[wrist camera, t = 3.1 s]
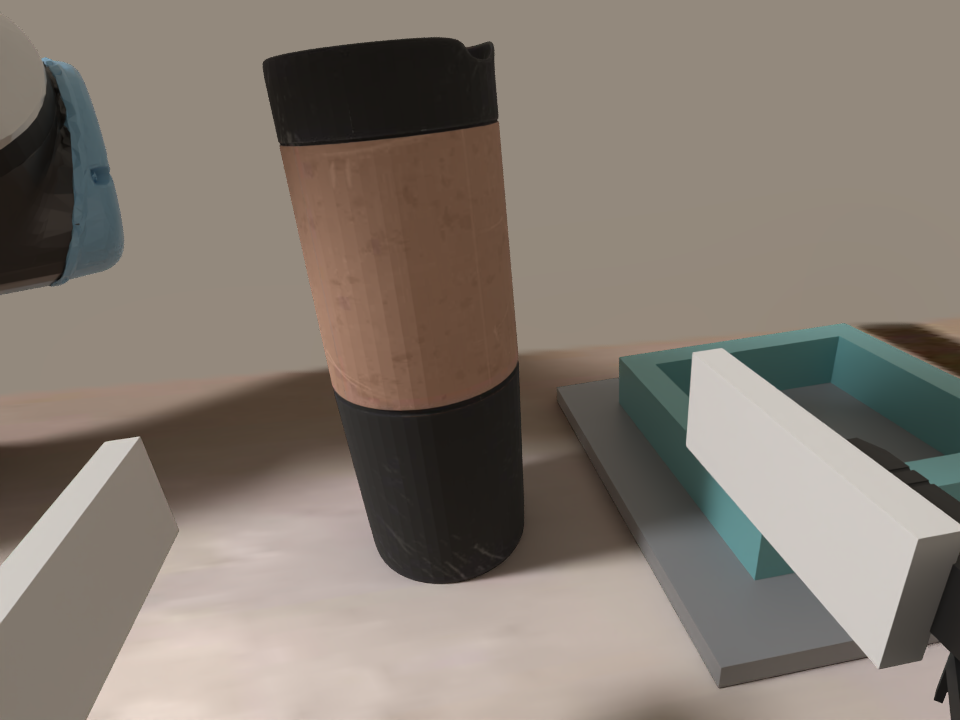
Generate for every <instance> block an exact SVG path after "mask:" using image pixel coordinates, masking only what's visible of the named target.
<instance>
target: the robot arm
mask: <svg viewBox="0 0 960 720" xmlns="http://www.w3.org/2000/svg"><path fill="white" fill-rule="evenodd" d="M109 172H110V167H109V164H108V160H107V153H106V149H105V145H104V141H103V137H102V134H101V130H100V127H99V124H98V120H97V117H96V114H95V111H94V107H93V104H92V102H91V99H90V96H89V93H88V91H87V88H86V86H85V83H84V81H83V79H82V77H81V75H80V73H79V72H78V70H76V69H75V68H74V67H73V66H72V65H70V64H68V63H65V62H58V61H53V60H51V59H49V58H41V57H40V55H39V53H38V51H37V49H36V48H35V47H34V45H33V44H32V42H31V41H30V39H29V38H28V37H27V35H26V34H25V33H24V32H23V31H22V29H21V28H19V27H18V26H17V25H16V24H15V23H14V22H12V21H11V20H10V19H9V18H8V17H6V16H4V15H3V14H2V13H0V295H2V294H8V293H13V292H18V291H24V290H28V289H34V288H40V287H45V286H59V285H62V284H64V283H65V282H67V281H68V280H69V279H74V278H78V277H81V276H85V275H90V274H93V273H97V272H102V271H105V270H107V269H109V268H111V267H112V266H114V265H115V264H116V263H117V262H118V261H119V259H120V257H121V256H122V253H123V249H124V234H123V226H122V220H121V214H120V208H119V204H118V199H117V195H116V190H115V186H114V183H113V180H112V177H111V176H110V174H109ZM686 446H687V448H688V449H689V450H690V451H691V452H692V453H693V455H694V456H695V457H696V458H697V459H698V460H699V462H700V463H701V464H702V465H703V466H704V467H705V469H706V470H707V471H708V472H709V473H710V474H711V475H712V477H713V478H714V479H715V480H716V481H717V482H718V484H719V485H720V486H721V487H722V488H723V489H724V491H725V492H726V493H727V494H728V495H729V496H730V498H731V499H732V500H733V501H734V502H735V503H736V504H737V506H738V507H739V508H740V509H741V510H742V511H743V513H744V514H745V515H746V516H747V517H748V518H749V520H750V521H751V522H752V523H753V524H754V525H755V527H756V528H757V529H758V530H759V531H760V532H761V534H762V535H763V536H764V537H765V538H766V539H767V540H768V542H769V543H770V544H771V545H772V546H773V547H774V549H775V550H776V551H777V552H778V553H779V554H780V556H781V557H782V558H783V559H784V560H785V561H786V563H787V564H788V565H789V566H790V567H791V568H792V570H793V571H794V572H795V573H796V574H797V575H798V576H799V578H800V579H801V580H802V581H803V582H804V583H805V585H806V586H807V587H808V588H809V589H810V590H811V592H812V593H813V594H814V595H815V596H816V597H817V599H818V600H819V601H820V602H821V603H822V604H823V606H824V607H825V608H826V609H827V610H828V611H829V612H830V614H831V615H832V616H833V617H834V618H835V619H836V621H837V622H838V623H839V624H840V625H841V626H842V628H843V629H844V630H845V631H846V632H847V633H848V635H849V636H850V637H851V638H852V639H853V640H854V641H855V643H856V644H857V645H858V646H859V647H860V648H861V650H862V651H863V652H864V653H865V654H866V655H867V657H868V658H869V659H870V660H871V661H872V662H873V664H874V665H875V666H876V667H877V668H878V669H883V668H888V667H892V666H897V665H902V664H907V663H911V662H916V661H921V660H922V658H923V655H924V653H925V650H926V647H927V644H928V641H929V638H930V635H931V634H932V635H933V636H934V637H936V638H937V639H938V640H939V641H940V642H941V643H942V644H943V645H944V646H945V647H946V648H947V649H948V650H949V651H950V655H949V657H948V660H947V662H946V665H945V668H944V670H943V673H942V676H941V678H940V681H939V684H938V686H937V689H936V693H935V697H934V700H935V701H938V702H940V703H943V701H944V698H945V696H946V693H947V692H948V695H949V705H950V714H951V720H960V502H959V501H958V500H957V499H955V498H954V497H952V496H951V495H949V494H948V493H947V492H945V491H944V490H942V489H941V488H939V487H938V486H937V485H935V484H930V483H929V480H928V479H927V478H925V477H924V476H922V475H921V474H919V473H918V472H917V471H915V470H910V468H909V466H908V465H907V464H905V463H904V462H902V461H901V460H900V459H898V458H897V457H895V456H894V455H892V454H891V453H890V452H888V451H887V450H885V449H882V448H880V447H878V446H875V445H873V444H871V443H868V442H866V441H863V440H861V439H859V438H851V439H844V438H843V437H842V436H840V435H839V434H838V433H836V432H835V431H833V430H832V429H831V428H829V427H828V426H827V425H825V424H824V423H823V422H821V421H820V420H819V419H817V418H816V417H815V416H813V415H812V414H811V413H809V412H808V411H806V410H805V409H804V408H802V407H801V406H800V405H798V404H797V403H796V402H794V401H793V400H792V399H790V398H789V397H788V396H786V395H785V394H784V393H782V392H781V391H779V390H778V389H777V388H775V387H774V386H773V385H771V384H770V383H769V382H767V381H766V380H765V379H763V378H762V377H761V376H759V375H758V374H756V373H755V372H754V371H752V370H751V369H750V368H748V367H747V366H746V365H744V364H743V363H742V362H740V361H739V360H738V359H736V358H735V357H734V356H732V355H731V354H729V353H728V352H727V351H725V350H724V349H723V348H718V349H712V350H705V351H699V352H693V354H692V368H691V382H690V396H689V410H688V424H687V438H686ZM178 532H179V529H178V527H177V524H176V522H175V519H174V517H173V514H172V512H171V510H170V507H169V505H168V502H167V500H166V498H165V495H164V493H163V490H162V488H161V486H160V483H159V481H158V478H157V476H156V473H155V471H154V469H153V466H152V464H151V461H150V459H149V457H148V454H147V452H146V449H145V447H144V444H143V442H142V440H141V437H133V438H126V439H120V440H113V441H107V442H104V443H103V444H102V446H101V447H100V448H99V449H98V450H97V452H96V453H95V454H94V455H93V456H92V458H91V459H90V460H89V461H88V462H87V464H86V465H85V466H84V467H83V468H82V470H81V471H80V472H79V473H78V474H77V475H76V477H75V478H74V479H73V480H72V481H71V483H70V484H69V485H68V486H67V487H66V489H65V490H64V491H63V492H62V493H61V495H60V496H59V497H58V498H57V499H56V500H55V502H54V503H53V504H52V505H51V506H50V508H49V509H48V510H47V511H46V512H45V514H44V515H43V516H42V517H41V518H40V520H39V521H38V522H37V523H36V524H35V525H34V527H33V528H32V529H31V530H30V531H29V533H28V534H27V535H26V536H25V537H24V539H23V540H22V541H21V542H20V543H19V545H18V546H17V547H16V548H15V549H14V550H13V552H12V553H11V554H10V555H9V556H8V558H7V559H6V560H5V561H4V562H3V564H2V565H1V566H0V720H86V719H87V717H88V715H89V713H90V711H91V709H92V707H93V705H94V703H95V701H96V699H97V697H98V695H99V693H100V691H101V689H102V687H103V685H104V682H105V680H106V678H107V676H108V674H109V672H110V670H111V668H112V666H113V664H114V662H115V660H116V658H117V656H118V654H119V652H120V650H121V648H122V646H123V644H124V642H125V640H126V638H127V636H128V634H129V632H130V630H131V628H132V626H133V624H134V621H135V619H136V617H137V615H138V613H139V611H140V609H141V607H142V605H143V603H144V601H145V599H146V597H147V595H148V593H149V591H150V589H151V587H152V585H153V583H154V581H155V579H156V577H157V575H158V573H159V571H160V569H161V567H162V565H163V563H164V560H165V558H166V556H167V554H168V552H169V550H170V548H171V546H172V544H173V542H174V540H175V538H176V536H177V534H178Z"/></svg>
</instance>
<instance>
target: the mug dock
mask: <svg viewBox="0 0 960 720" xmlns="http://www.w3.org/2000/svg"><path fill="white" fill-rule="evenodd" d="M718 348H723V349H724V350H725V351H727V352H728V353H729V354H731V355H732V356H734V357H735V358H736V359H738V360H739V361H740V362H742V363H743V364H744V365H746V366H747V367H748V368H750V369H751V370H752V371H754V372H755V373H756V374H758V375H759V376H761V377H762V378H763V379H765V380H766V381H767V382H769V383H770V384H771V385H773V386H774V387H775V388H777V389H778V390H779V391H781V392H782V393H784V394H785V395H786V396H788V397H789V398H790V399H792V400H793V401H794V402H796V403H797V404H798V405H800V406H801V407H802V408H804V409H805V410H806V411H808V412H809V413H811V414H812V415H813V416H815V417H816V418H817V419H819V420H820V421H821V422H823V423H824V424H825V425H827V426H828V427H829V428H831V429H832V430H833V431H835V432H836V433H838V434H839V435H840V436H842V437H843V438H844V439H851V438H859V439H861V440H863V441H866V442H868V443H871V444H873V445H875V446H878V447H880V448H882V449H885V450H887V451H888V452H890V453H891V454H892V455H894V456H895V457H897V458H898V459H900V460H901V461H902V462H904V463H905V464H907V465H908V466H909V468H910V470H915V471H917V472H918V473H919V474H921V475H922V476H924V477H925V478H927V479H928V480H929V483H930V484H935V485H937V486H938V487H939V488H941V489H942V490H944V491H945V492H947V493H948V494H949V495H951V496H952V497H954V498H955V499H957V500H958V501H959V502H960V379H959V378H957V377H954V376H952V375H950V374H948V373H946V372H944V371H942V370H940V369H938V368H936V367H934V366H932V365H930V364H928V363H926V362H924V361H922V360H919V359H917V358H915V357H913V356H911V355H909V354H907V353H905V352H903V351H901V350H899V349H897V348H895V347H893V346H891V345H889V344H887V343H885V342H882V341H880V340H878V339H876V338H874V337H872V336H870V335H868V334H866V333H864V332H862V331H860V330H858V329H856V328H854V327H852V326H850V325H847V324H845V323H842V324H836V325H829V326H823V327H816V328H809V329H803V330H796V331H789V332H783V333H776V334H770V335H763V336H756V337H750V338H743V339H737V340H730V341H723V342H717V343H710V344H703V345H697V346H690V347H684V348H677V349H670V350H664V351H657V352H651V353H644V354H637V355H631V356H624V357H619V378H613V379H607V380H601V381H594V382H588V383H581V384H575V385H568V386H562V387H557V401H558V403H559V405H560V407H561V408H562V410H563V412H564V414H565V415H566V417H567V419H568V421H569V423H570V424H571V426H572V428H573V430H574V431H575V433H576V435H577V437H578V439H579V440H580V442H581V444H582V446H583V447H584V449H585V451H586V453H587V455H588V456H589V458H590V460H591V462H592V464H593V465H594V467H595V469H596V471H597V472H598V474H599V476H600V478H601V480H602V481H603V483H604V485H605V487H606V488H607V490H608V492H609V494H610V496H611V497H612V499H613V501H614V503H615V504H616V506H617V508H618V510H619V512H620V513H621V515H622V517H623V519H624V521H625V522H626V524H627V526H628V528H629V529H630V531H631V533H632V535H633V537H634V538H635V540H636V542H637V544H638V545H639V547H640V549H641V551H642V553H643V554H644V556H645V558H646V560H647V561H648V563H649V565H650V567H651V569H652V570H653V572H654V574H655V576H656V578H657V579H658V581H659V583H660V585H661V586H662V588H663V590H664V592H665V594H666V595H667V597H668V599H669V601H670V602H671V604H672V606H673V608H674V610H675V611H676V613H677V615H678V617H679V618H680V620H681V622H682V624H683V626H684V627H685V629H686V631H687V633H688V634H689V636H690V638H691V640H692V642H693V643H694V645H695V647H696V649H697V651H698V652H699V654H700V656H701V658H702V659H703V661H704V663H705V665H706V667H707V668H708V670H709V672H710V674H711V675H712V677H713V679H714V681H715V683H716V684H717V686H718V688H721V687H726V686H731V685H735V684H740V683H745V682H750V681H754V680H759V679H764V678H769V677H774V676H778V675H783V674H788V673H793V672H797V671H802V670H807V669H812V668H816V667H821V666H826V665H831V664H836V663H840V662H845V661H850V660H855V659H859V658H864V657H867V655H866V654H865V653H864V652H863V651H862V650H861V648H860V647H859V646H858V645H857V644H856V643H855V641H854V640H853V639H852V638H851V637H850V636H849V635H848V633H847V632H846V631H845V630H844V629H843V628H842V626H841V625H840V624H839V623H838V622H837V621H836V619H835V618H834V617H833V616H832V615H831V614H830V612H829V611H828V610H827V609H826V608H825V607H824V606H823V604H822V603H821V602H820V601H819V600H818V599H817V597H816V596H815V595H814V594H813V593H812V592H811V590H810V589H809V588H808V587H807V586H806V585H805V583H804V582H803V581H802V580H801V579H800V578H799V576H798V575H797V574H796V573H795V572H794V571H793V570H792V568H791V567H790V566H789V565H788V564H787V563H786V561H785V560H784V559H783V558H782V557H781V556H780V554H779V553H778V552H777V551H776V550H775V549H774V547H773V546H772V545H771V544H770V543H769V542H768V540H767V539H766V538H765V537H764V536H763V535H762V534H761V532H760V531H759V530H758V529H757V528H756V527H755V525H754V524H753V523H752V522H751V521H750V520H749V518H748V517H747V516H746V515H745V514H744V513H743V511H742V510H741V509H740V508H739V507H738V506H737V504H736V503H735V502H734V501H733V500H732V499H731V498H730V496H729V495H728V494H727V493H726V492H725V491H724V489H723V488H722V487H721V486H720V485H719V484H718V482H717V481H716V480H715V479H714V478H713V477H712V475H711V474H710V473H709V472H708V471H707V470H706V469H705V467H704V466H703V465H702V464H701V463H700V462H699V460H698V459H697V458H696V457H695V456H694V455H693V453H692V452H691V451H690V450H689V449H688V448H687V446H686V438H687V424H688V410H689V396H690V382H691V368H692V354H693V352H699V351H705V350H712V349H718ZM936 642H940V641H939V640H938V639H937V638H936V637H934V636H933V635H932V634H931V635H930V638H929V641H928V644H931V643H936Z"/></svg>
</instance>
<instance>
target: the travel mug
mask: <svg viewBox="0 0 960 720" xmlns="http://www.w3.org/2000/svg"><path fill="white" fill-rule="evenodd" d="M263 72H264V78H265V83H266V88H267V91H268V97H269V101H270V106H271V110H272V115H273V119H274V124H275V128H276V132H277V137H278V142H279V143H280V151H281V155H282V160H283V164H284V169H285V173H286V178H287V183H288V187H289V191H290V196H291V201H292V205H293V209H294V214H295V219H296V223H297V228H298V232H299V236H300V241H301V246H302V250H303V255H304V259H305V264H306V269H307V273H308V277H309V282H310V286H311V291H312V295H313V300H314V305H315V309H316V314H317V318H318V323H319V327H320V332H321V336H322V341H323V345H324V350H325V355H326V359H327V364H328V368H329V373H330V377H331V382H332V386H333V389H334V394H335V398H336V401H337V405H338V409H339V412H340V416H341V420H342V424H343V427H344V431H345V435H346V438H347V442H348V446H349V449H350V453H351V457H352V461H353V464H354V468H355V472H356V475H357V479H358V483H359V486H360V490H361V494H362V498H363V501H364V505H365V509H366V512H367V516H368V520H369V523H370V527H371V530H372V534H373V537H374V541H375V544H376V547H377V549H378V552H379V554H380V556H381V557H382V559H383V560H384V561H385V563H386V564H387V565H388V566H389V567H390V568H391V569H393V570H394V571H395V572H397V573H398V574H400V575H402V576H404V577H407V578H410V579H413V580H416V581H421V582H426V583H451V582H458V581H463V580H467V579H470V578H473V577H476V576H479V575H481V574H483V573H486V572H488V571H489V570H491V569H493V568H494V567H496V566H497V565H499V564H500V563H501V562H503V561H504V560H505V559H506V558H507V557H508V556H509V555H510V554H511V553H512V551H513V550H514V549H515V547H516V546H517V544H518V542H519V540H520V538H521V535H522V531H523V526H524V491H523V464H522V438H521V412H520V386H519V362H518V346H517V334H516V322H515V310H514V299H513V286H512V274H511V262H510V250H509V238H508V226H507V214H506V202H505V190H504V179H503V167H502V155H501V143H500V130H499V122H498V121H497V119H498V105H497V93H496V82H495V67H494V46H493V43H492V42H485V43H482V44H479V45H476V46H471V47H465V46H464V44H463V43H461V42H460V41H458V40H456V39H452V38H442V37H441V38H440V37H430V38H411V39H399V40H398V39H397V40H387V41H375V42H365V43H356V44H347V45H339V46H332V47H323V48H316V49H310V50H304V51H298V52H292V53H287V54H282V55H278V56H274V57H271V58H268V59H266V60H265V61H264V62H263Z"/></svg>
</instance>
